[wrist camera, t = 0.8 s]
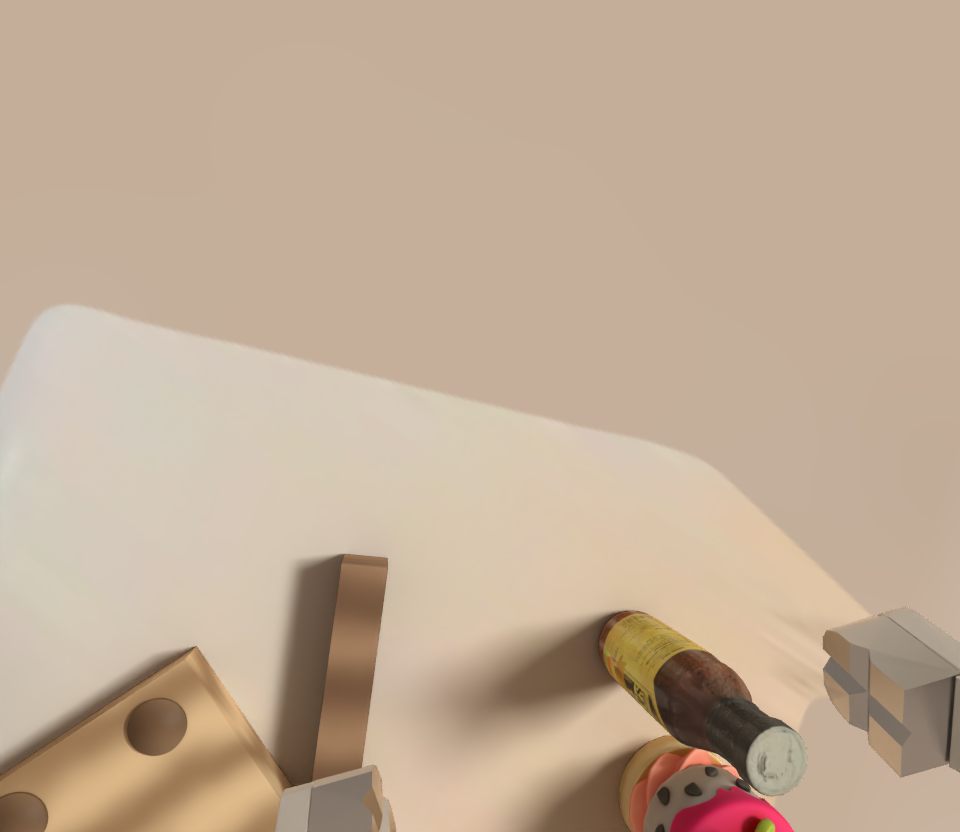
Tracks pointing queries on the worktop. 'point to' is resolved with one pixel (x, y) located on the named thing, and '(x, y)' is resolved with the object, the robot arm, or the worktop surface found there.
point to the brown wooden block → (351, 665)
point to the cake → (690, 793)
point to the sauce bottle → (701, 701)
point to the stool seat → (151, 765)
